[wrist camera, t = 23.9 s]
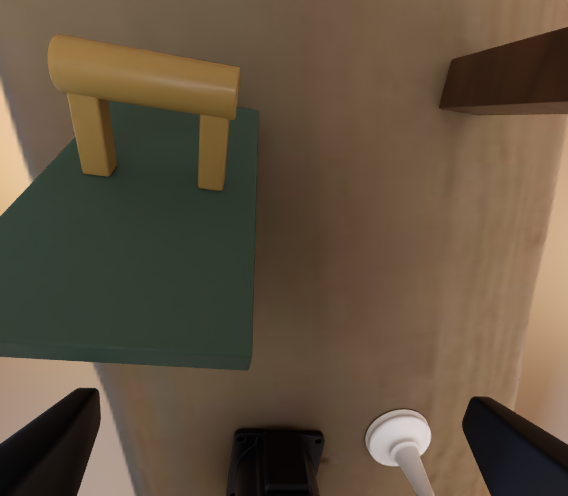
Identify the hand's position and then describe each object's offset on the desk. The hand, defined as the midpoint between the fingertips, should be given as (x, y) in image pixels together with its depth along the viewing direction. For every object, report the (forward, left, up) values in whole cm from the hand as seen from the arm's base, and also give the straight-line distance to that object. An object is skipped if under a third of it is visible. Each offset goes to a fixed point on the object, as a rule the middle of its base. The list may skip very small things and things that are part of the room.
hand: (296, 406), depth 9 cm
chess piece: (-14, -12, -13) cm, 23 cm away
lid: (+4, +4, -4) cm, 7 cm away
